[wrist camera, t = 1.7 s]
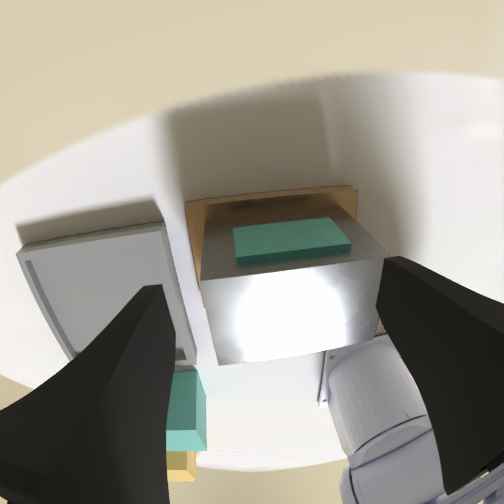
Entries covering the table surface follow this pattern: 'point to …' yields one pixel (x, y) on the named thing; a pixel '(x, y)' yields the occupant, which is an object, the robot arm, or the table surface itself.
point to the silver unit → (285, 272)
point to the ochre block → (181, 465)
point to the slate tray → (103, 282)
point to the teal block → (186, 413)
